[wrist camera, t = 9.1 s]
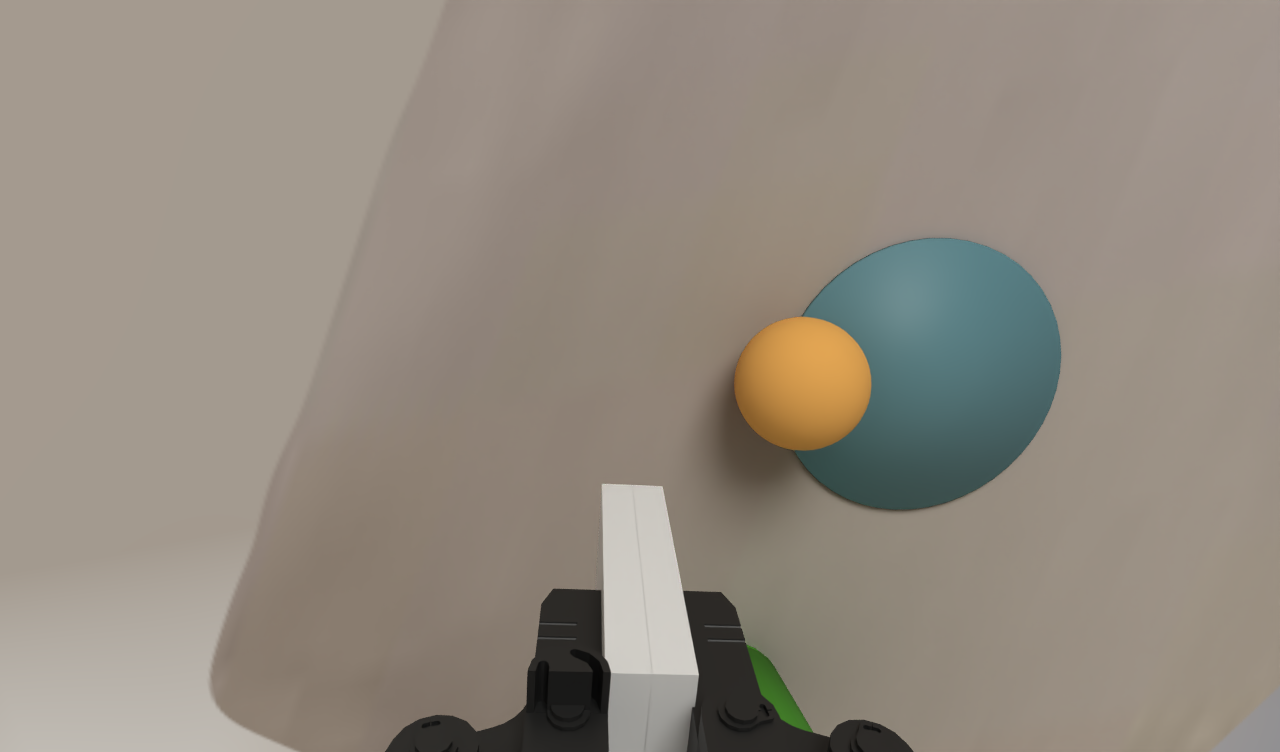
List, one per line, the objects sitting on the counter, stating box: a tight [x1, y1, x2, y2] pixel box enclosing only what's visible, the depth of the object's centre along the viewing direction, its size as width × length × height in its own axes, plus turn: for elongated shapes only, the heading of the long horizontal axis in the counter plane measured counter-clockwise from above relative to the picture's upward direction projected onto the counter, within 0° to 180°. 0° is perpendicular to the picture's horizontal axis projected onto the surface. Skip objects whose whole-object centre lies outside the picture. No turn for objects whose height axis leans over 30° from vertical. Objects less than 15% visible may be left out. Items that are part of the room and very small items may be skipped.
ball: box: [734, 317, 871, 451], centre depth 29 cm, size 6×6×6 cm
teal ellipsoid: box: [794, 238, 1061, 510], centre depth 32 cm, size 13×13×1 cm
